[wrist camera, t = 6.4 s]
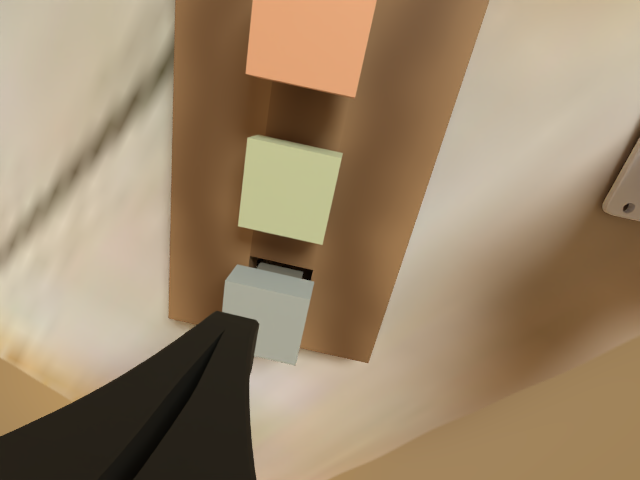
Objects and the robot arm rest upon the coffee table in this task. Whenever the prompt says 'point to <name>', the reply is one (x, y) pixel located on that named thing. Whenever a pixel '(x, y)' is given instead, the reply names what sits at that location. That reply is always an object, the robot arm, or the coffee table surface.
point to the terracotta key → (310, 43)
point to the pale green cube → (288, 188)
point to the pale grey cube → (271, 307)
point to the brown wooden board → (318, 131)
